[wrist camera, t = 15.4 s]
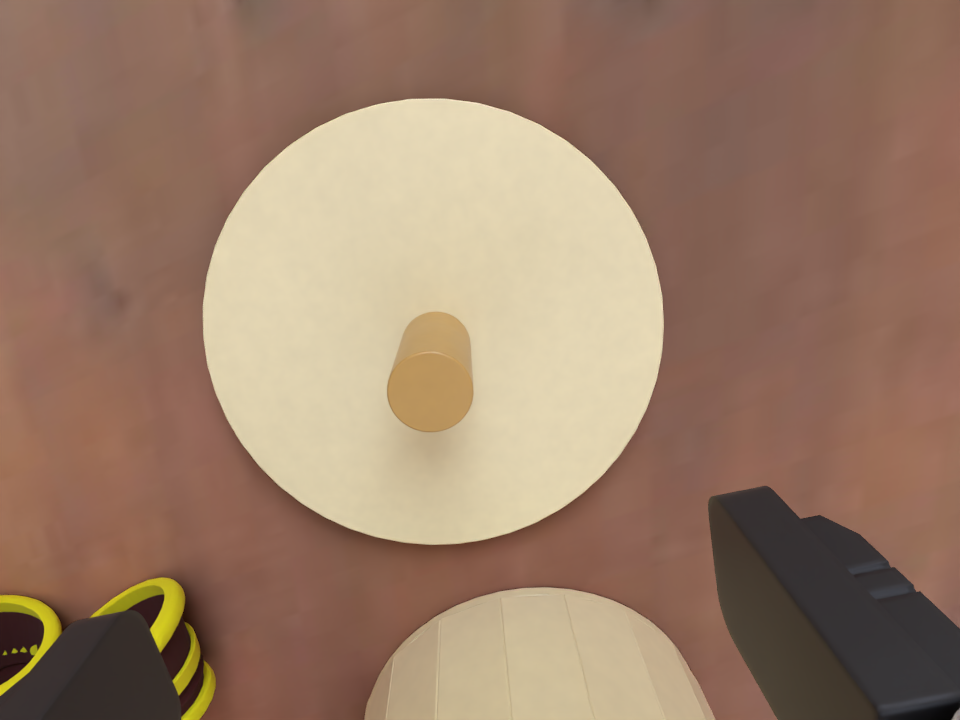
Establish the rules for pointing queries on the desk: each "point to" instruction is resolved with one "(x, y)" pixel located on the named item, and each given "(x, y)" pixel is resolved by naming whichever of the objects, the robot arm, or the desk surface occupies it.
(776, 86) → the desk surface
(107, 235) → the desk surface
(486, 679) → the canister
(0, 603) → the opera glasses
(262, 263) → the canister lid
